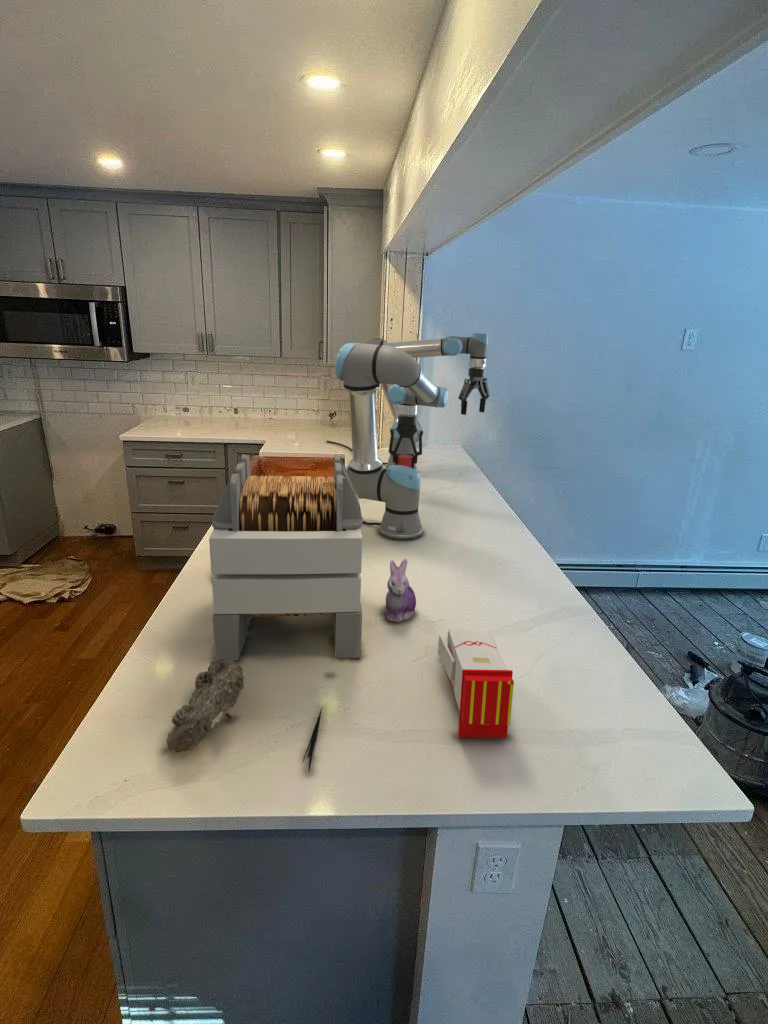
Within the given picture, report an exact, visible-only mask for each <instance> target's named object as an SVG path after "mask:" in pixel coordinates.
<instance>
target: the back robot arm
mask: <svg viewBox="0 0 768 1024" xmlns="http://www.w3.org/2000/svg"><path fill="white" fill-rule="evenodd" d="M362 344H373V345H389V346H393V347H395V348H398V349H400V350H402V351H404V352H406V353H407V354H409V355H410V356H412V357H413V358H414V359H418V358H419V359H420V358H433V357H446V356H448V357H449V356H450V357H454V356H458V355H459V354H460V355H462V354H464V355H469V362H468V364H469V365H468V366H469V368H468V377H469V378H464V380H463V381H464V382H463V385H462V387H461V390H460V393H459V394H458V400H459V401H461V402H460V415H462V416H463V415H464V416H467V410H468V398H469V396H470V395H471V393H472V392H473V390H475V389H477V390H478V392H479V393H478V394H479V395H480V396H481V397H480V399H479V409H478V412H479V413H485V410H486V405H487V400H488V399H489V398H490V396H491V395H490V391H489V386H488V378H487V377H485V375H486V374H485V373H486V369H485V368H486V364H487V354H488V347H489V346H488V345H489V335H488V333H482V332H473V333H472V334H471V336H457V335H451V336H450V335H447V336H446V337H443V338H433V339H432V338H431V339H430V338H429V339H421V340H420V339H419V340H408V341H407V340H406V341H394V342H388V341H387V340H385V339H383V338H380V337H379V338H377V337H376V338H372V339H371V338H370V339H367V340H365V341H364V342H363V343H362ZM392 385H394V384H383V383H382V384H381V383H380V386H381V389H382V391H383V394H384V397H385V400H386V403H387V404H388V407H389V409H390V412H391V414H392V417H393V422H392V425H391V428H392V429H395V428H397V426H398V416H399V415H400V414H399V413H398V411H399V404H397V405H396V404H393V403H391V402H390V401H389V399H388V396H387V392H388V389H389V388H390V387H391V386H392ZM416 427H417V429H418V430H423V427H422V424H421V423H420V422H419V421H418V420H417V422H416ZM399 436H400V435H399V433H398V432H397V431H396V433H395V434H394V439H393V446H392V450H393V451H394V449H395V446H396V444H397V441H398V439H399ZM413 438H414V442H415V444H416V443H418V442H419V435H418V433H417V432H416V433H415V434H414V435H413ZM326 443H328V444H329V443H330V444H334V445H337V446H341V447H344V448H346V449H348V450H350V451H351V452H353V451H352V447H350V446H348V445H345V444H343V443H339V442H336V441H331V440H326ZM396 454H398V455H410V456H413V455H415V454H414V451H413V447H412V443H411V440H410V438H402V440H401V443H400V445H399V448H398V450H397V453H396ZM382 465H385V469H387V468H388V467H389V466H391V465H395V462H393V455H392V454H391V453H389V457H388V459H387V462H383V461H382ZM414 470H416V471H417V472H418V467H417V465H416V464H414Z"/></svg>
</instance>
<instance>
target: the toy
mask: <svg viewBox="0 0 768 1024" xmlns="http://www.w3.org/2000/svg"><path fill="white" fill-rule="evenodd" d="M446 640H447V643H446V641H445V639H444V636H443V635H442V634H439V637H438V646H437V656H438V657H439V659H440V661H441V663H442V666H443V668H444V670H445V672H446V674H447V677H448V679H449V681H450V684H451V687H452V690H453V693H454V697H455V701H456V705H457V708H458V711H459V714H458V715H459V716H458V730H457V731H458V732H457V737H458V738H508V731H509V726H510V725H511V717H512V707H513V697H514V696H513V695H514V684H515V680H514V679H513V673H514V671H513V670H512V669H508V667H507V665H506V662H505V661H504V659H503V658H502V655H501V653H500V651H499V649H498V647H497V643H496V639H495V637H494V635H493V634H491V632H490V631H489V629H467V628H466V629H465V628H463V629H461V628H460V629H459V628H448V630H447V639H446Z"/></svg>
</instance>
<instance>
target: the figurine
mask: <svg viewBox="0 0 768 1024" xmlns="http://www.w3.org/2000/svg"><path fill="white" fill-rule="evenodd" d="M407 567H408V559H406V558H404V559H403V560H402V561H401V563H400V565H399V566H398V565H397V563H396V562H395V561H394V560H393V559H391V560H390V561H389V570H390V576H389V578H388V579H387V589H388V591H387V592H386V594H385V595H386V596H385V607H384V615H385V616H386V620H387V621H391V622H395V623H400V622H402V621H406V620H409V619H410V618H411V617H413V616H414V615H415V610H416V606H417V597H416V593H415V591H414V590H413V587H411V586H410V582H409V579H408V577H407V574H406V571H407Z"/></svg>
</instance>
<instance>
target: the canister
mask: <svg viewBox="0 0 768 1024" xmlns="http://www.w3.org/2000/svg"><path fill="white" fill-rule="evenodd" d="M412 461H413V456H410V455H398V456H397V465H398V466H399V465H402V466H407V467H410V468H412Z"/></svg>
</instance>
